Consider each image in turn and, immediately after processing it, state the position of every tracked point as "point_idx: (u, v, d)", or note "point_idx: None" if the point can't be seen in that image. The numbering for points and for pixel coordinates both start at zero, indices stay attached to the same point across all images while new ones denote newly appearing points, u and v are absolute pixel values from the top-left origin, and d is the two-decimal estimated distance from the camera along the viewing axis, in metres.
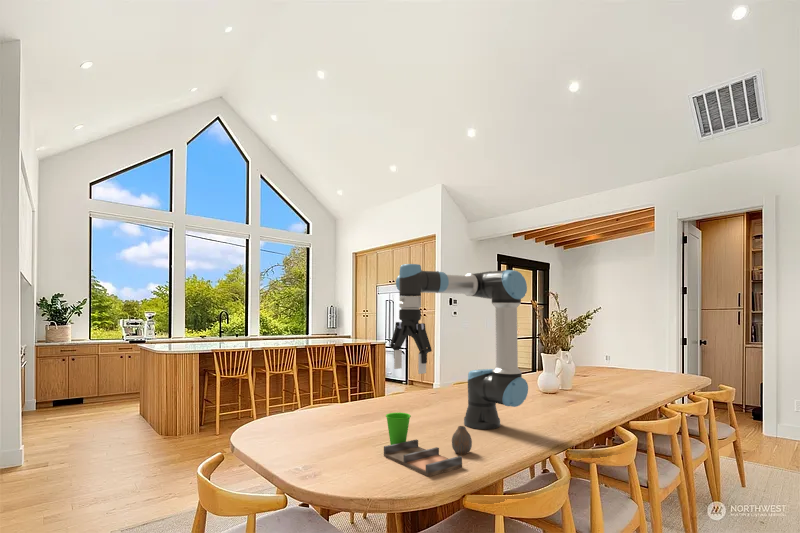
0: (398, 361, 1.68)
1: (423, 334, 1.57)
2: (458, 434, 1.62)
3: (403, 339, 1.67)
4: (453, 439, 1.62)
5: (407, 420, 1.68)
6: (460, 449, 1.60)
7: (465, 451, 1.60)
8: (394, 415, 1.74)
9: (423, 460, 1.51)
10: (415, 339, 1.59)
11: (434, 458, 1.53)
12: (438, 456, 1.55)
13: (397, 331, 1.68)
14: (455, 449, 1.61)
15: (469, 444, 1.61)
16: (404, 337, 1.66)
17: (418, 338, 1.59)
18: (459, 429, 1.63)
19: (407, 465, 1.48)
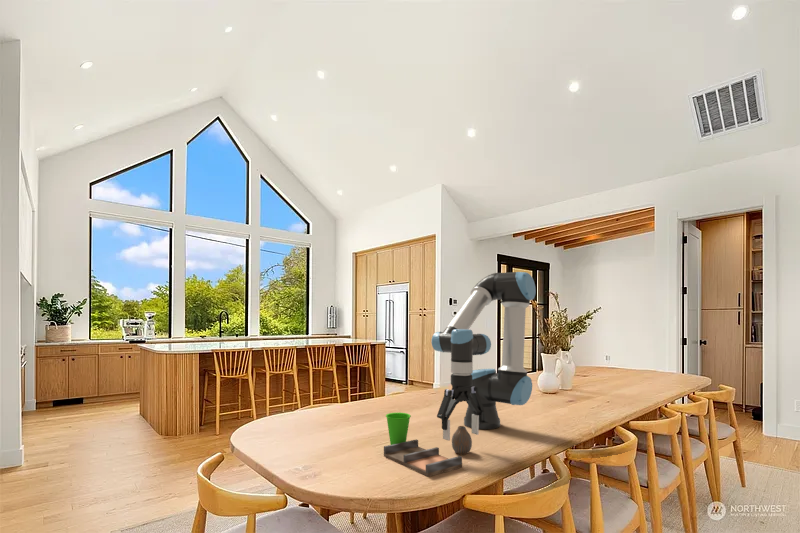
0: (474, 426, 1.67)
1: (444, 400, 1.60)
2: (458, 434, 1.62)
3: (470, 404, 1.66)
4: (453, 439, 1.62)
5: (407, 420, 1.68)
6: (460, 449, 1.60)
7: (465, 451, 1.60)
8: (394, 415, 1.74)
9: (423, 460, 1.51)
10: None
11: (434, 458, 1.53)
12: (438, 456, 1.55)
13: (472, 395, 1.69)
14: (455, 449, 1.61)
15: (469, 444, 1.61)
16: (469, 402, 1.66)
17: (450, 404, 1.61)
18: (459, 429, 1.63)
19: (407, 465, 1.48)
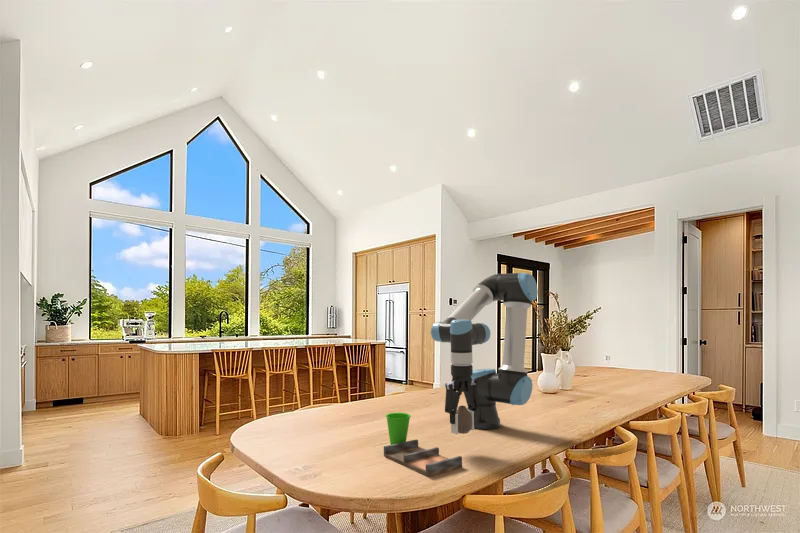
0: None
1: (447, 394, 1.61)
2: (458, 413, 1.62)
3: (468, 397, 1.66)
4: None
5: (407, 420, 1.68)
6: (460, 428, 1.61)
7: (466, 430, 1.61)
8: (394, 415, 1.74)
9: (423, 460, 1.51)
10: None
11: (434, 458, 1.53)
12: (438, 456, 1.55)
13: (471, 388, 1.68)
14: None
15: (470, 423, 1.62)
16: (467, 394, 1.66)
17: (454, 397, 1.63)
18: (460, 408, 1.63)
19: (407, 465, 1.48)
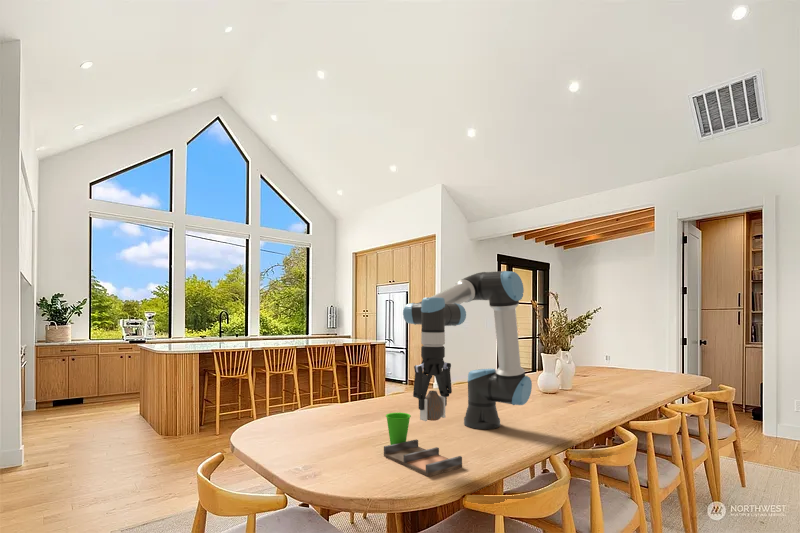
0: None
1: (416, 377, 1.48)
2: (428, 398, 1.49)
3: (439, 381, 1.52)
4: None
5: (407, 420, 1.68)
6: (430, 414, 1.47)
7: (436, 417, 1.48)
8: (394, 415, 1.74)
9: (423, 460, 1.51)
10: None
11: (434, 458, 1.53)
12: (438, 456, 1.55)
13: (443, 372, 1.55)
14: None
15: (440, 409, 1.48)
16: (438, 378, 1.52)
17: (423, 380, 1.49)
18: (430, 393, 1.50)
19: (407, 465, 1.48)
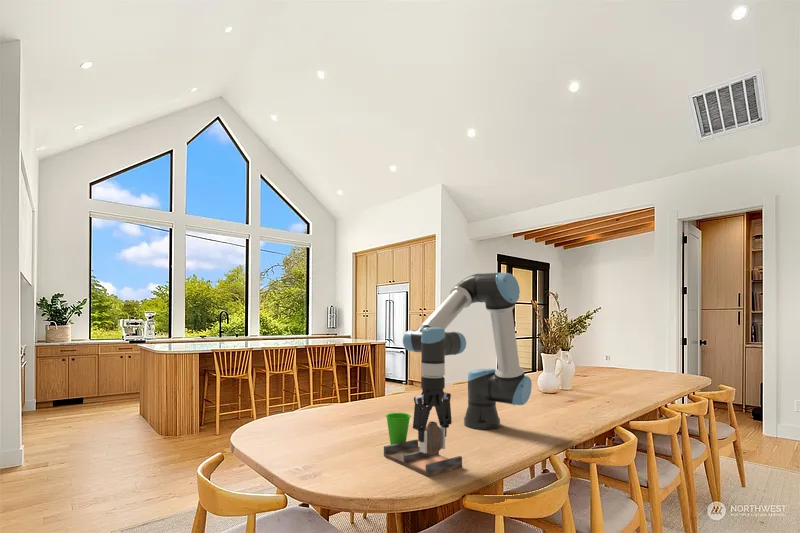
0: None
1: (415, 409, 1.47)
2: (428, 430, 1.48)
3: (439, 412, 1.52)
4: None
5: (407, 420, 1.68)
6: (430, 446, 1.47)
7: (436, 449, 1.47)
8: (394, 415, 1.74)
9: (423, 460, 1.51)
10: None
11: (434, 458, 1.53)
12: (438, 456, 1.55)
13: (443, 402, 1.54)
14: None
15: (440, 441, 1.47)
16: (438, 409, 1.52)
17: (423, 412, 1.49)
18: (430, 425, 1.49)
19: (407, 465, 1.48)
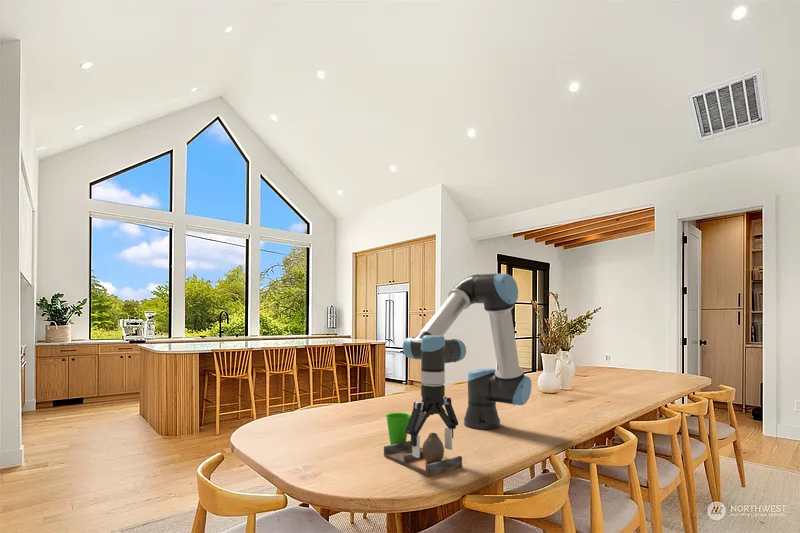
0: (447, 441, 1.54)
1: (413, 413, 1.46)
2: (428, 442, 1.48)
3: (443, 417, 1.52)
4: (423, 447, 1.49)
5: (407, 420, 1.68)
6: (430, 458, 1.47)
7: (436, 460, 1.47)
8: (394, 415, 1.73)
9: (423, 460, 1.51)
10: None
11: None
12: None
13: (445, 407, 1.55)
14: (425, 458, 1.48)
15: (441, 453, 1.47)
16: (442, 415, 1.52)
17: (420, 417, 1.48)
18: (430, 436, 1.49)
19: (407, 465, 1.48)
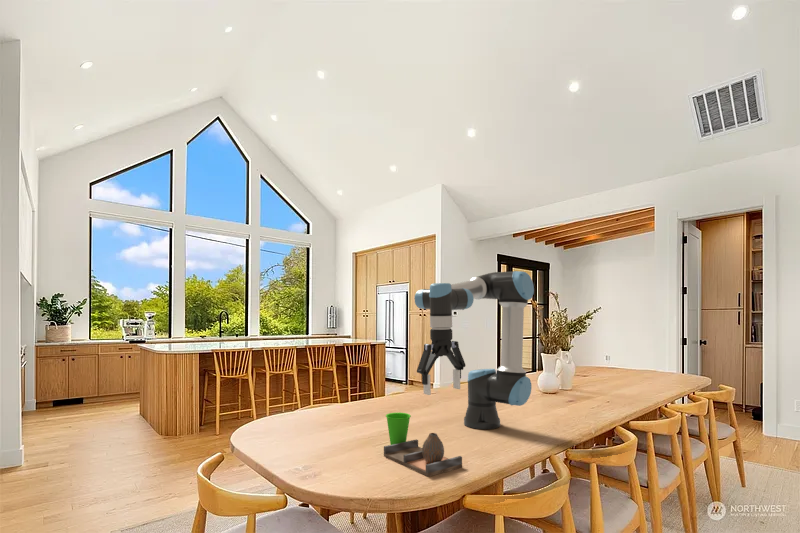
0: (455, 381, 1.65)
1: (423, 355, 1.57)
2: (428, 442, 1.48)
3: (451, 359, 1.63)
4: (423, 447, 1.49)
5: (407, 420, 1.68)
6: (430, 458, 1.47)
7: (436, 460, 1.47)
8: (394, 415, 1.74)
9: (423, 460, 1.51)
10: None
11: None
12: None
13: (453, 350, 1.65)
14: (425, 458, 1.48)
15: (441, 453, 1.47)
16: (450, 357, 1.63)
17: (430, 359, 1.58)
18: (430, 436, 1.49)
19: (407, 465, 1.48)
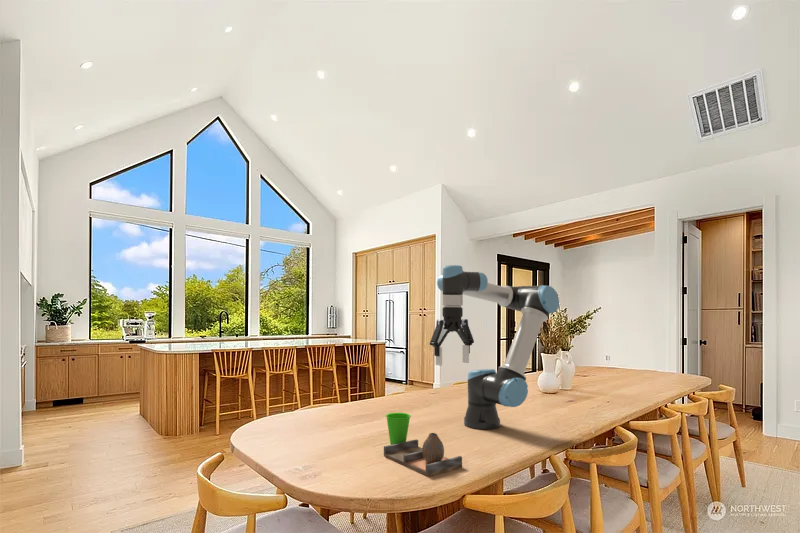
0: (464, 355, 1.80)
1: (436, 329, 1.73)
2: (428, 442, 1.48)
3: (461, 335, 1.79)
4: (423, 447, 1.49)
5: (407, 420, 1.68)
6: (430, 458, 1.47)
7: (436, 460, 1.47)
8: (394, 415, 1.74)
9: (423, 460, 1.51)
10: None
11: None
12: None
13: (463, 327, 1.81)
14: (425, 458, 1.48)
15: (441, 453, 1.47)
16: (460, 333, 1.79)
17: (442, 333, 1.74)
18: (430, 436, 1.49)
19: (407, 465, 1.48)
